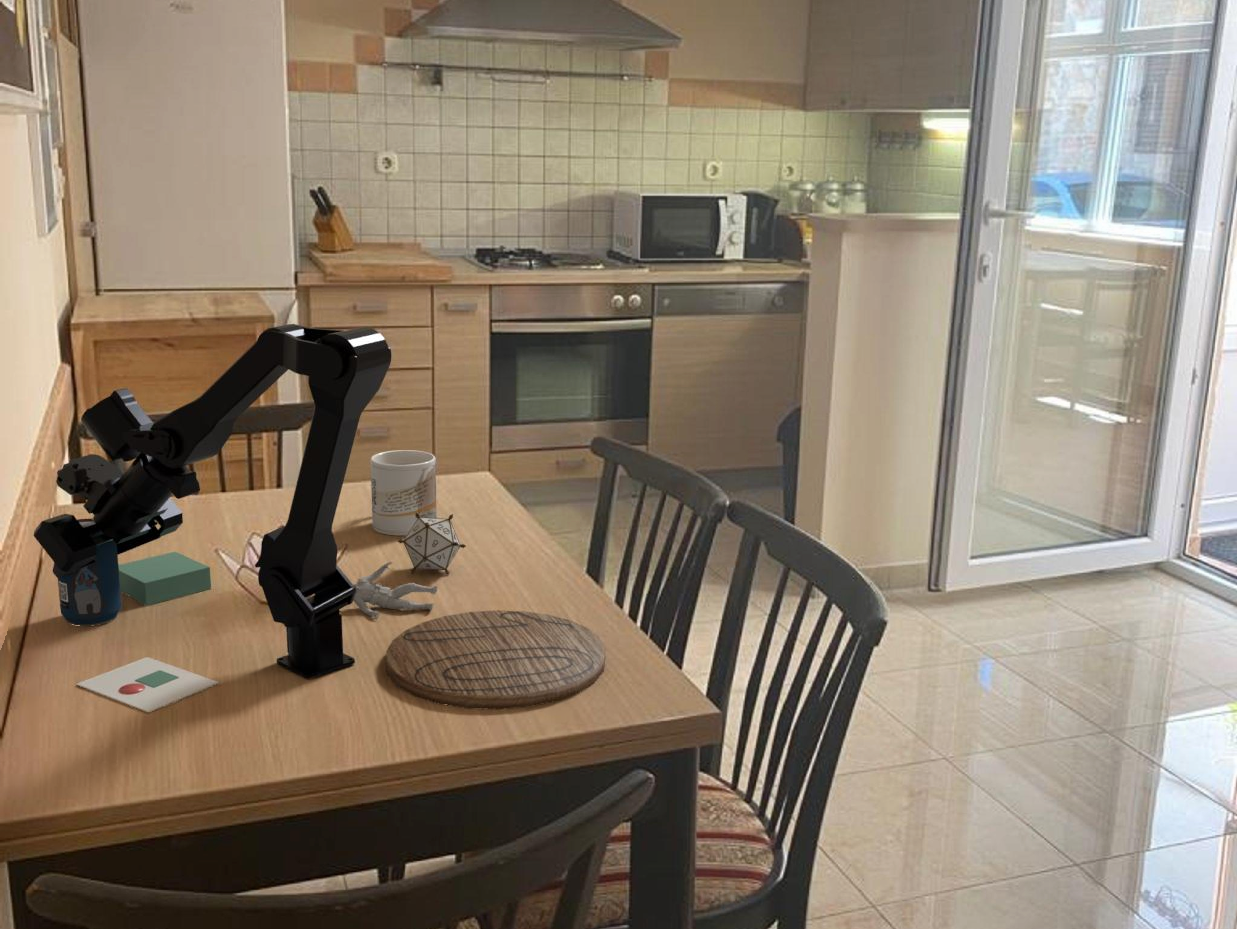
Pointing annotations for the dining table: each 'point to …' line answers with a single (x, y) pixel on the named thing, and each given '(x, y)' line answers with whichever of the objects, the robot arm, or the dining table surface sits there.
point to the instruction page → (147, 684)
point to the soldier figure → (387, 594)
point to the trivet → (495, 659)
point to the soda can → (92, 588)
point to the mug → (402, 490)
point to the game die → (432, 543)
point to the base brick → (163, 578)
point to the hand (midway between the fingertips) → (78, 565)
